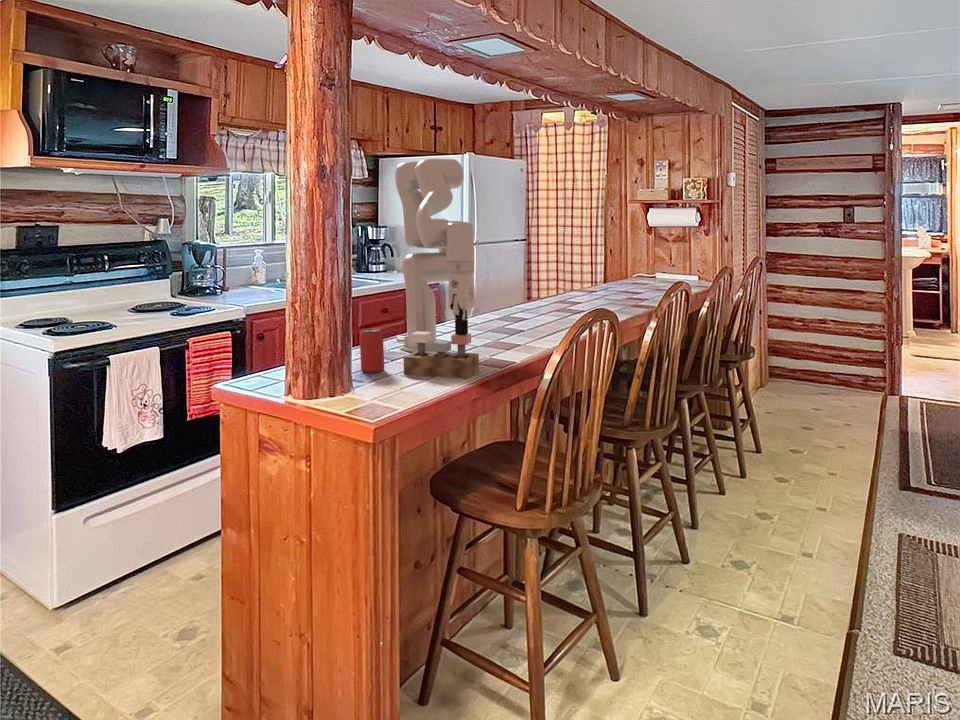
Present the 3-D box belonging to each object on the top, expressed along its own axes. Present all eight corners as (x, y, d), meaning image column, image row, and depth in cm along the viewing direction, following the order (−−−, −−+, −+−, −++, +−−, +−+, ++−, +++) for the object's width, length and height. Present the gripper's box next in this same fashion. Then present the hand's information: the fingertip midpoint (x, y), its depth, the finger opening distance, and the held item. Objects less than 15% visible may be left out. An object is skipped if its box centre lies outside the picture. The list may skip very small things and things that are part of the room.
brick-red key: (451, 361, 200) (451, 335, 198) (456, 358, 204) (456, 333, 202) (466, 362, 199) (466, 336, 197) (471, 359, 203) (471, 333, 201)
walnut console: (403, 374, 202) (403, 357, 201) (417, 367, 211) (416, 350, 210) (468, 378, 196) (468, 360, 195) (478, 370, 206) (478, 353, 205)
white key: (411, 359, 203) (410, 333, 202) (417, 356, 207) (416, 331, 206) (426, 360, 202) (425, 334, 200) (431, 357, 206) (431, 331, 205)
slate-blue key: (431, 368, 202) (431, 343, 201) (437, 365, 206) (436, 340, 205) (446, 369, 201) (445, 343, 199) (451, 366, 205) (451, 341, 203)
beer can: (356, 371, 207) (354, 329, 204) (375, 367, 211) (373, 327, 209) (370, 374, 202) (368, 332, 200) (388, 370, 207) (387, 329, 204)
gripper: (465, 270, 188) (466, 339, 191) (481, 266, 202) (482, 330, 205) (438, 269, 190) (439, 338, 194) (456, 265, 204) (457, 329, 208)
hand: (461, 334), depth 199 cm, fingers closed
